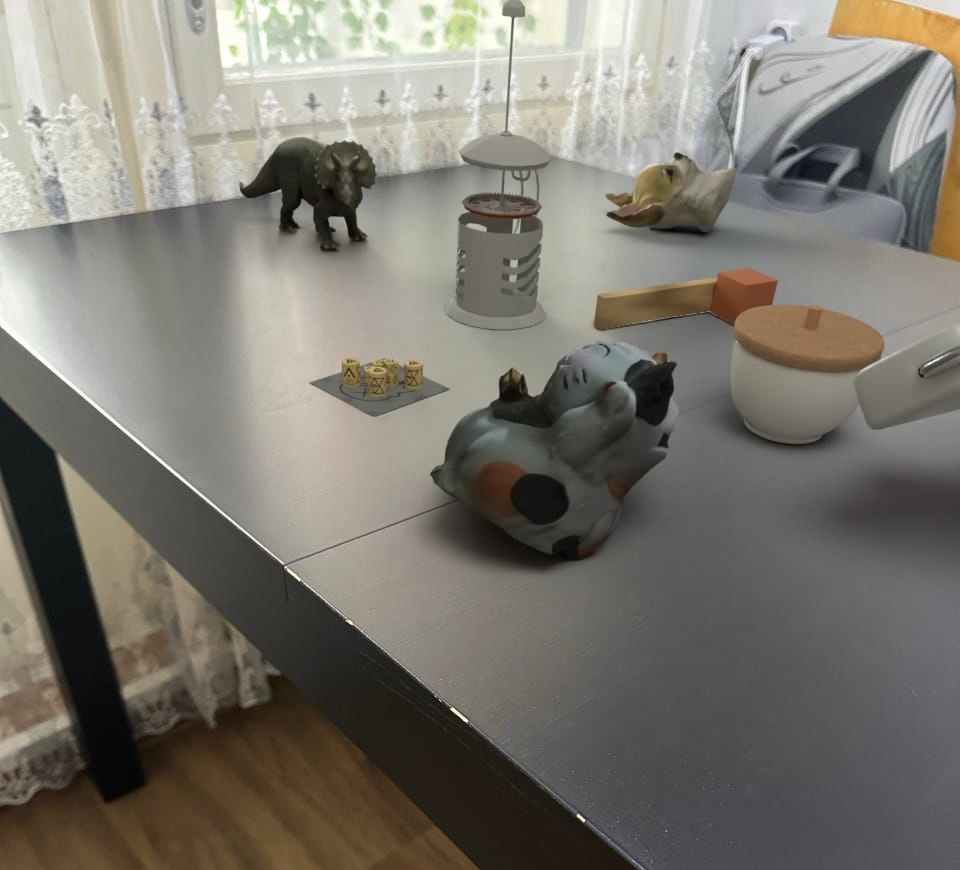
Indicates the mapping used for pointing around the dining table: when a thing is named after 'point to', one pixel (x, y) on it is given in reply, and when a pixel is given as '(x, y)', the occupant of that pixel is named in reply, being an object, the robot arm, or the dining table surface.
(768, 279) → the terracotta block
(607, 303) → the guide rail
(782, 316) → the trinket box
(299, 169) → the toy dinosaur
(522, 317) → the french press
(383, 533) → the dining table surface
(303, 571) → the dining table surface
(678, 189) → the ceramic sculpture
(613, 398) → the lucky cat figurine
